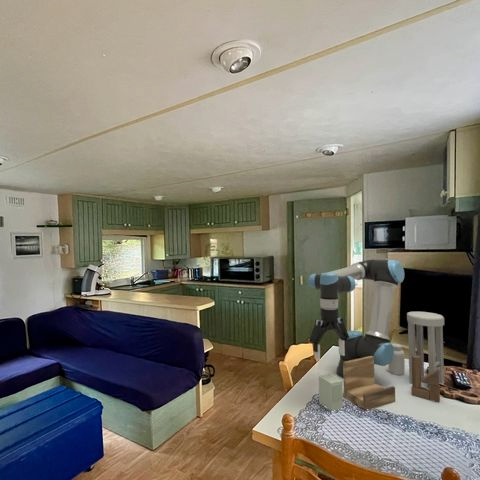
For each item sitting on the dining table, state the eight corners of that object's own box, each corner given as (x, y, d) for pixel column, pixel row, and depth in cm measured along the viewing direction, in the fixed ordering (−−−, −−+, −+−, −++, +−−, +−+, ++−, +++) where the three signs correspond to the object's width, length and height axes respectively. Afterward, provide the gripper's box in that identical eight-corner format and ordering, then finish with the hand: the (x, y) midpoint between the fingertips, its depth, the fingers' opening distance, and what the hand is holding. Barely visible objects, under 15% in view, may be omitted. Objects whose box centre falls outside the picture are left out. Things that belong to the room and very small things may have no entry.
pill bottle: (398, 376, 154) (398, 348, 155) (385, 371, 161) (384, 344, 162) (408, 373, 158) (407, 346, 158) (394, 368, 165) (393, 341, 165)
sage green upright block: (319, 403, 128) (318, 375, 128) (329, 400, 130) (329, 373, 131) (332, 412, 120) (331, 383, 121) (343, 409, 123) (342, 381, 123)
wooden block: (439, 402, 128) (438, 361, 128) (411, 395, 135) (410, 356, 135) (440, 399, 131) (438, 359, 131) (412, 392, 137) (411, 354, 138)
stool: (403, 382, 147) (401, 313, 148) (416, 375, 156) (415, 310, 157) (437, 395, 134) (435, 319, 136) (450, 385, 143) (448, 315, 145)
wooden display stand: (343, 396, 133) (343, 361, 134) (372, 389, 141) (371, 355, 141) (365, 410, 122) (365, 372, 122) (395, 401, 129) (394, 365, 129)
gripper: (311, 312, 118) (312, 364, 118) (357, 307, 128) (357, 355, 128) (300, 308, 125) (301, 358, 124) (344, 304, 135) (345, 350, 134)
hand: (329, 357), depth 126 cm, fingers open, 13 cm apart
